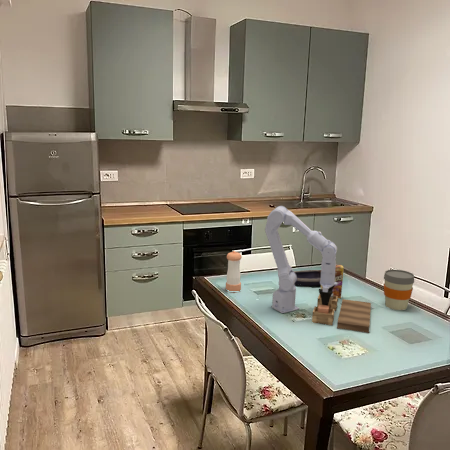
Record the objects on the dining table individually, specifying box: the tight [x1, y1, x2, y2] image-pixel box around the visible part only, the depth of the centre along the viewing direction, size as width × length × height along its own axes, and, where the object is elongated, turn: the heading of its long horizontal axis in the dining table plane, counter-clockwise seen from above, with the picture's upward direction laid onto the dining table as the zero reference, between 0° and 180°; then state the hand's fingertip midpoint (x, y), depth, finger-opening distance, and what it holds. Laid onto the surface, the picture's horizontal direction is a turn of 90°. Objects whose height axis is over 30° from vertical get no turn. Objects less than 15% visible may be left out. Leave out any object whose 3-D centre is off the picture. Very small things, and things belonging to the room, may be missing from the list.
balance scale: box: [311, 293, 339, 326], centre depth 195 cm, size 22×8×7 cm, turn 162°
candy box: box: [320, 264, 344, 299], centre depth 212 cm, size 9×4×15 cm, turn 98°
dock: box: [336, 298, 372, 334], centre depth 191 cm, size 26×12×2 cm, turn 162°
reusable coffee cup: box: [383, 269, 415, 311], centre depth 203 cm, size 13×13×15 cm
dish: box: [293, 269, 321, 287], centre depth 234 cm, size 16×31×5 cm, turn 100°
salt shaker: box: [225, 250, 242, 292], centre depth 219 cm, size 7×7×19 cm
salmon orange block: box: [318, 305, 329, 314], centre depth 187 cm, size 4×4×3 cm
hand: (326, 302), depth 194 cm, fingers open, 7 cm apart
